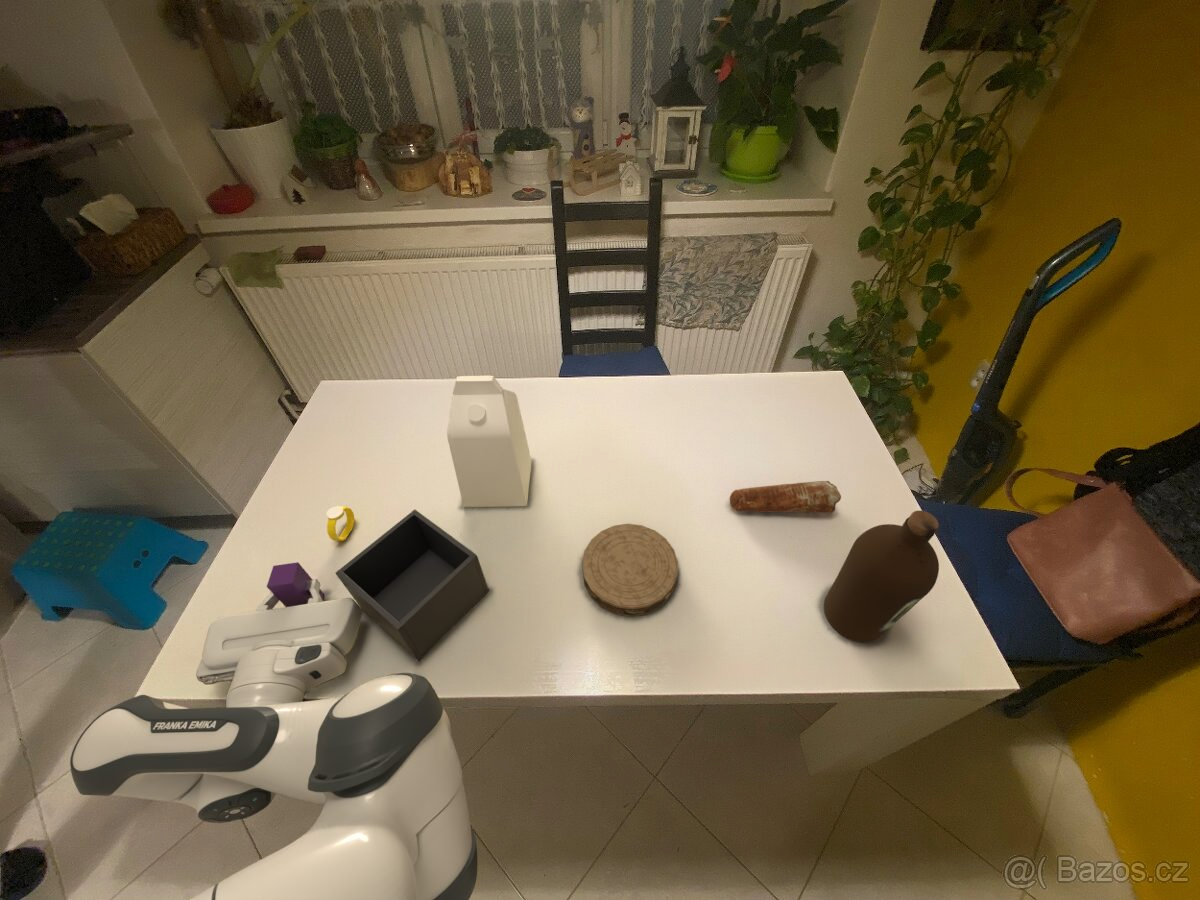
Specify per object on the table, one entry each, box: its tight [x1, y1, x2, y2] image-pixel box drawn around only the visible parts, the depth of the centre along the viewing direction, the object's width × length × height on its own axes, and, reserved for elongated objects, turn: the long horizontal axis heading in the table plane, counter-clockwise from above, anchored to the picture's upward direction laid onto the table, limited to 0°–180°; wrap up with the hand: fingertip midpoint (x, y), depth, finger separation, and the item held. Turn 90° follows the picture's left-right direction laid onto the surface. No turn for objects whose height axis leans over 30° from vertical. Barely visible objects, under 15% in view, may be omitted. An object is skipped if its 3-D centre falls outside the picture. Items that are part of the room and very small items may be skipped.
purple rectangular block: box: [266, 561, 325, 607], centre depth 79 cm, size 4×4×10 cm
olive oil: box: [823, 510, 940, 644], centre depth 72 cm, size 11×11×25 cm
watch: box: [325, 505, 355, 542], centre depth 90 cm, size 6×3×6 cm, turn 173°
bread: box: [729, 480, 842, 514], centre depth 94 cm, size 6×19×6 cm, turn 88°
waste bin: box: [335, 509, 490, 663], centre depth 79 cm, size 15×15×11 cm
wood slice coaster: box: [581, 523, 679, 618], centre depth 85 cm, size 16×16×3 cm
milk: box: [446, 375, 533, 508], centre depth 91 cm, size 12×12×26 cm
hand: (297, 584), depth 79 cm, fingers closed on purple rectangular block, 3 cm apart
